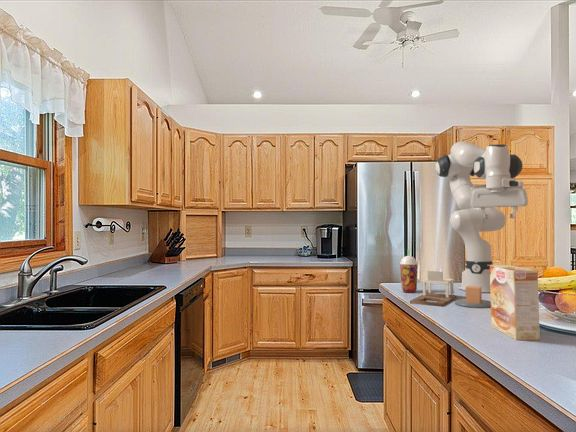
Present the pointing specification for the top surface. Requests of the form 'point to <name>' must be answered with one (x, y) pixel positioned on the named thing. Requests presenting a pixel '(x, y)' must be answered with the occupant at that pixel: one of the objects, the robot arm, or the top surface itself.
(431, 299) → the puzzle board
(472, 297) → the block
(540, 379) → the top surface
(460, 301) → the saucer
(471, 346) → the top surface
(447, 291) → the cover
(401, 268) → the smoothie
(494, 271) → the coffeecake box
